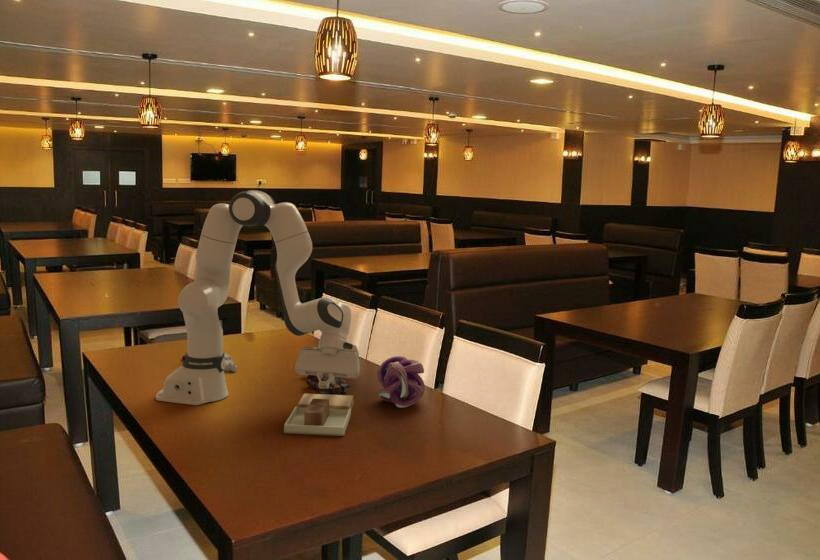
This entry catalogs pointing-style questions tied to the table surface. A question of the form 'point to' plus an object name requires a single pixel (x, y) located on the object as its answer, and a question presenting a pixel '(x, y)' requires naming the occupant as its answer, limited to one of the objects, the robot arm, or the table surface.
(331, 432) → the tray
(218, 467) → the table surface
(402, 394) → the sculpture
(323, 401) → the walnut block
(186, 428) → the table surface
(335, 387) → the figurine
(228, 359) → the male figure
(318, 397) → the oak board
